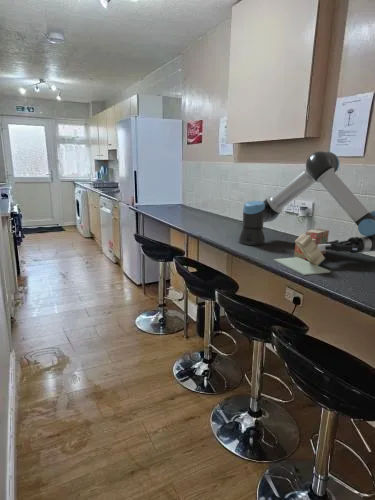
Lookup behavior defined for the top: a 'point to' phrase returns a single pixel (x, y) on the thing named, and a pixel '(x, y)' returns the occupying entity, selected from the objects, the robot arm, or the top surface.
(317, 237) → the stack of blocks
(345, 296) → the top surface
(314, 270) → the sage cutting board
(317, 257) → the maple block
